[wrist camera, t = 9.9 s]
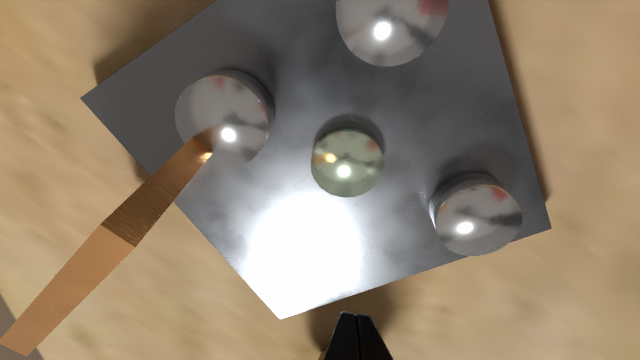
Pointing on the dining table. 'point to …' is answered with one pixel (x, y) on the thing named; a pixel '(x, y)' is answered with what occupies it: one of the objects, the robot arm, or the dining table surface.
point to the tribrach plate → (343, 141)
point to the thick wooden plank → (156, 192)
